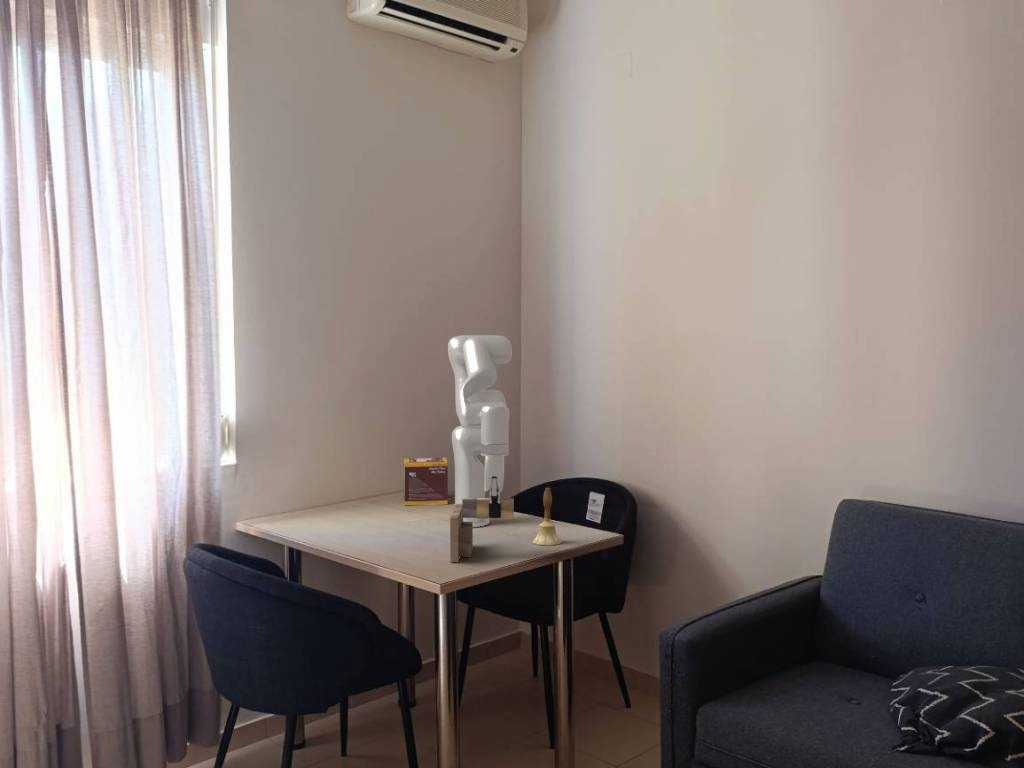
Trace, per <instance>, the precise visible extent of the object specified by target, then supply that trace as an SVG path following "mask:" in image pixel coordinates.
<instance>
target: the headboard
mask: <svg viewBox="0 0 1024 768" xmlns="http://www.w3.org/2000/svg"><path fill="white" fill-rule="evenodd" d="M449 521H450V522H449V524H450V525H449V526H450V527H449V528H450V530H449V533H450V537H449V538H450V539H449V540H450V541H449V542H450V543H449V544H450V552H449V553H450V563H451V562H458V561H460V558H459V557H472V553H473V551H474V550H473V549H474V544H473V543H474V538H473V537H474V535H473V533H474V532H473V529H474V527H473V522H463V518H462V504H456V506H455V505H454V508H453V511H452V513H451V516H450V517H449ZM472 550H473V551H472ZM458 563H459V562H458Z"/></svg>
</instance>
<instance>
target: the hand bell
mask: <svg viewBox="0 0 1024 768" xmlns="http://www.w3.org/2000/svg"><path fill="white" fill-rule="evenodd" d="M542 501H543V507H544V518H543V521H542V522H541V523H540V524H539V526H538V532H537V535H536V537H535V538H534V539H533V541H532V544H534V545H538V546H545V547H546V546H557V545H558V546H559V545H561V544H562V540H561V539H560V538H559V537H558V535H557V531H556V526H555V523H553V522H552V521H551V507H552V503H553V495H552V491H551V488H550V487H545V490H544V493H543V497H542Z"/></svg>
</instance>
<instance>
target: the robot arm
mask: <svg viewBox="0 0 1024 768" xmlns="http://www.w3.org/2000/svg"><path fill="white" fill-rule="evenodd" d="M447 344H448V345H447V355H448V359H449V362H450V365H451V368H452V370H453V374H454V382H455V383H454V385H455V386H454V387H455V391H454V393H455V411H456V412H455V413H456V416H457V417H458V420H459V423H460V425H458V426H456V427H455V428H454V429H453V430H452V432H451V444H452V445H451V446H452V450H453V451H452V452H453V457H454V458H453V459H454V507H455V506H456V504H462V499H477V498H486V493H487V492H489V498H490V503H489V518H463V522H473V528H479V527H480V526H481V527H485V525H486V526H488V525H489V523H490V524H491V519H501V518H500V517H501V503H500V498H501V492H503V490H504V489H503V487H504V482H505V481H504V479H505V457H507V456H509V454H510V453H509V450H510V449H509V448H510V447H509V440H510V439H509V431H510V429H509V423H510V422H509V421H510V408H509V407H507V403H506V402H507V401H506V398H505V395H504V393H503V392H502V391H500V390H497V389H489V388H490V387H492V386H494V384H495V383H496V382H497V379H498V378H497V377H498V374H497V370H496V369H497V368H496V365H501V364H502V365H503V364H504V365H505V364H506V365H507V364H509V363H510V362H511V359H512V357H513V354H512V353H513V349H512V348H513V347H512V343H511V342H510V340H509V338H507V336H505V335H499V334H498V335H497V334H496V335H495V334H493V335H491V334H487V335H486V334H485V335H484V334H481V335H480V334H479V335H478V334H473V335H472V334H467V335H466V334H464V335H463V334H462V335H456V336H454V337H451V338H450V339H449V341H448V343H447ZM479 455H480V456H482V457H484V463H482V462H481V461H480V460H479V458H478V457H477V456H479Z"/></svg>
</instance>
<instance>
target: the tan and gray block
mask: <svg viewBox="0 0 1024 768" xmlns="http://www.w3.org/2000/svg"><path fill="white" fill-rule="evenodd" d="M514 499H515V497H500V503H501V517H500V518H499V519H508V520H509V519H515V518H514V517H515V515H514V514H515V513H514V510H515V509H514V508H515V507H514V505H515V503H514ZM489 503H490V497H485V498H477V499H462V518H488V519H490V518H489Z"/></svg>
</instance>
